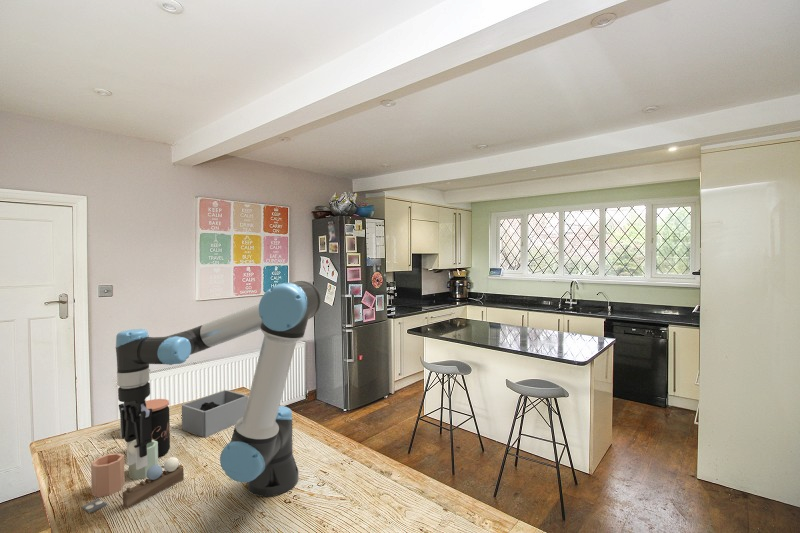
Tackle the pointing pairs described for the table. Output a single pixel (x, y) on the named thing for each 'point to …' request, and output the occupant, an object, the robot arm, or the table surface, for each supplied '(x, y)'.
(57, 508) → the table surface
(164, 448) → the coffee jar
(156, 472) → the blue ball
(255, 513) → the table surface
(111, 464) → the tubes
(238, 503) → the table surface
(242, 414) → the box
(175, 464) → the cream ball
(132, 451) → the cream ball
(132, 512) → the table surface
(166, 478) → the rack
